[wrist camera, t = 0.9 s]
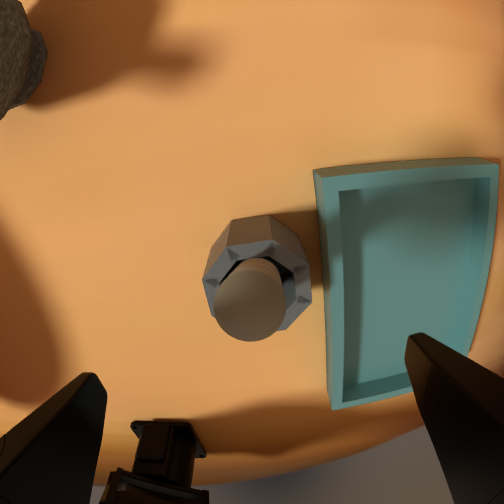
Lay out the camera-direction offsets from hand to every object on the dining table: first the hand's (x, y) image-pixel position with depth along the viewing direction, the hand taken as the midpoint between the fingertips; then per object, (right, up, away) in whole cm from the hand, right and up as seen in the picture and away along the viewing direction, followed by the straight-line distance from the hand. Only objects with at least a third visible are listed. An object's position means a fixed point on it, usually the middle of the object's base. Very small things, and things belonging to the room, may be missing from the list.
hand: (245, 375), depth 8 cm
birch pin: (0, +3, +11) cm, 12 cm away
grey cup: (+1, +3, +12) cm, 12 cm away
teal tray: (+11, +1, +13) cm, 17 cm away
